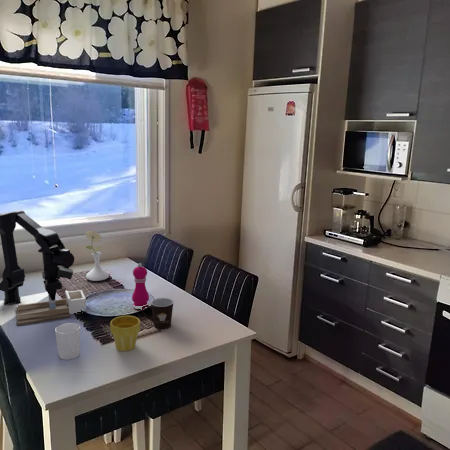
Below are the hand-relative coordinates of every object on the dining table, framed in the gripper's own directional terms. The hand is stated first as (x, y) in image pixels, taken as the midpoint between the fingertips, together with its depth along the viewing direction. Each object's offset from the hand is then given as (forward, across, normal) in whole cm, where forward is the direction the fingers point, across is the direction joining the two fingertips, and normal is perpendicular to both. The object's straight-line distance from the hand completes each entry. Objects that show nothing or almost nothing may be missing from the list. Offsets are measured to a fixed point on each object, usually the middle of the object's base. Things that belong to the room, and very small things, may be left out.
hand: (53, 299), depth 184 cm
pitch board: (+6, 0, +4) cm, 7 cm away
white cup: (+6, -40, -2) cm, 40 cm away
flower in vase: (+6, +34, -24) cm, 42 cm away
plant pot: (+6, -42, -20) cm, 47 cm away
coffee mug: (+6, -30, -36) cm, 47 cm away
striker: (+4, 0, 0) cm, 4 cm away
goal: (+6, 0, -8) cm, 10 cm away
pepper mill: (+6, -10, -34) cm, 36 cm away
